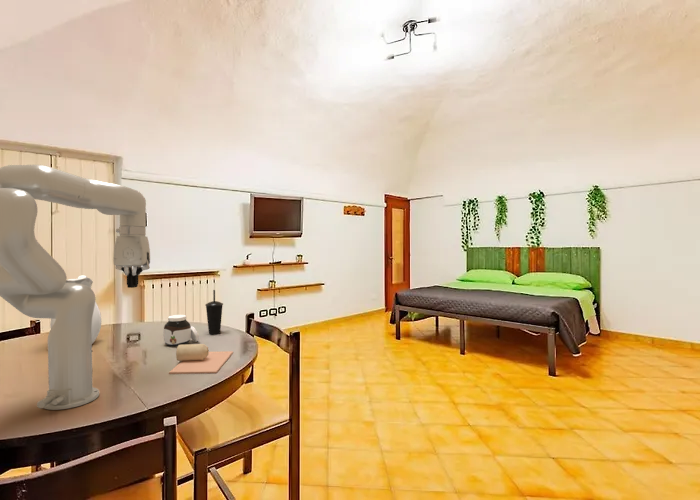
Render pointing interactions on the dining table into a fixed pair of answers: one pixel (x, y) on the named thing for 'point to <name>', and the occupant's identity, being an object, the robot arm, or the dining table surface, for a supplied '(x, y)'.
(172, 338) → the spread jar
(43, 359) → the dining table surface
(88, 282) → the pitcher
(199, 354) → the candle
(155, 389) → the dining table surface
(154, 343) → the dining table surface
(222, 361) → the mat
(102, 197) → the robot arm
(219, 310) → the drinking cup
